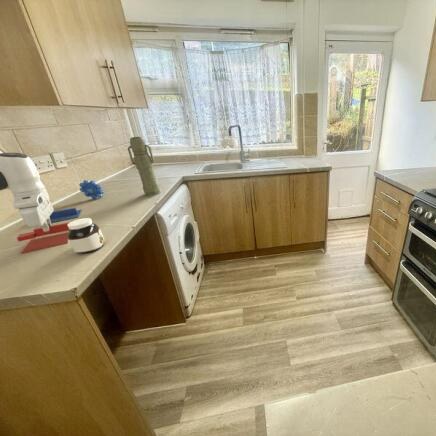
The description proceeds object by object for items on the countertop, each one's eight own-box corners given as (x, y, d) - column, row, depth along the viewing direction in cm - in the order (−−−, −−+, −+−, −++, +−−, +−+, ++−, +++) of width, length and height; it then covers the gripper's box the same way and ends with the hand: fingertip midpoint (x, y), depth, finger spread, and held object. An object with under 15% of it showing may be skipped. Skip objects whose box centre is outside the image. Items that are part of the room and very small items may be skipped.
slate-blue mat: (35, 225, 115) (35, 224, 114) (42, 217, 124) (42, 216, 124) (78, 217, 122) (78, 216, 122) (81, 210, 132) (81, 209, 131)
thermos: (163, 195, 152) (146, 136, 138) (142, 198, 148) (122, 138, 134) (164, 191, 160) (148, 135, 145) (143, 194, 156) (125, 137, 141)
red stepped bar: (18, 241, 93) (14, 234, 92) (21, 237, 96) (18, 231, 94) (71, 230, 100) (68, 224, 99) (73, 227, 103) (70, 221, 102)
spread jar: (96, 254, 89) (83, 226, 84) (61, 259, 87) (46, 231, 82) (111, 239, 100) (100, 213, 95) (80, 243, 98) (67, 217, 93)
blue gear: (81, 202, 145) (72, 183, 140) (86, 198, 151) (77, 180, 146) (103, 199, 148) (96, 180, 143) (107, 196, 154) (100, 177, 149)
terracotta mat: (21, 253, 91) (20, 252, 91) (31, 240, 100) (30, 239, 100) (75, 242, 99) (75, 240, 99) (80, 231, 108) (79, 229, 108)
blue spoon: (35, 221, 117) (32, 216, 116) (37, 219, 120) (35, 213, 119) (77, 214, 125) (75, 209, 124) (78, 212, 128) (76, 207, 127)
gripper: (29, 191, 99) (44, 222, 104) (10, 206, 83) (29, 241, 88) (50, 188, 102) (63, 219, 107) (36, 202, 86) (52, 237, 91)
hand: (48, 229), depth 98 cm, fingers closed on red stepped bar
